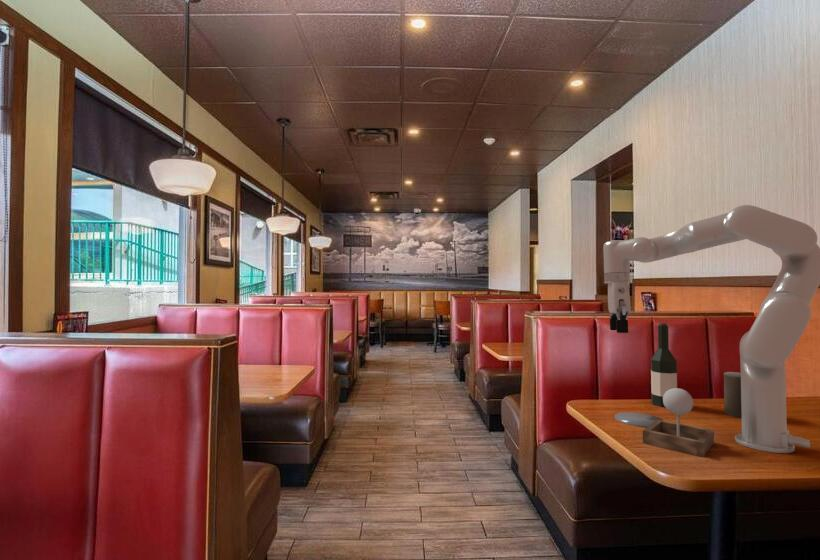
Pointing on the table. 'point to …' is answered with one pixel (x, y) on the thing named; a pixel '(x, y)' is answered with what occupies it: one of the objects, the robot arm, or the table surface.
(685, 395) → the eyeball on stick
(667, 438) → the frame
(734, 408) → the pillar candle
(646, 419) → the gray round disc
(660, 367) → the wine bottle
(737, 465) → the table surface
